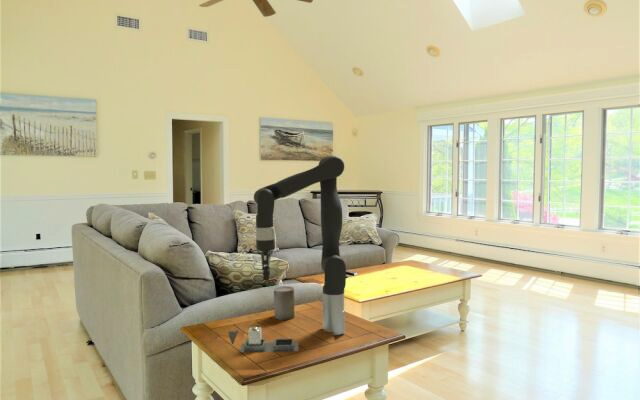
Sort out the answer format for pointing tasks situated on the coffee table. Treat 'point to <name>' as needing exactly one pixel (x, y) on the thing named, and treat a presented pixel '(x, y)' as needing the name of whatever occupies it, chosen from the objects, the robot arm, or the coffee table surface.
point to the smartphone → (233, 335)
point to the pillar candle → (284, 302)
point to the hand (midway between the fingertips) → (266, 277)
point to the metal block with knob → (255, 336)
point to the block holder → (271, 346)
